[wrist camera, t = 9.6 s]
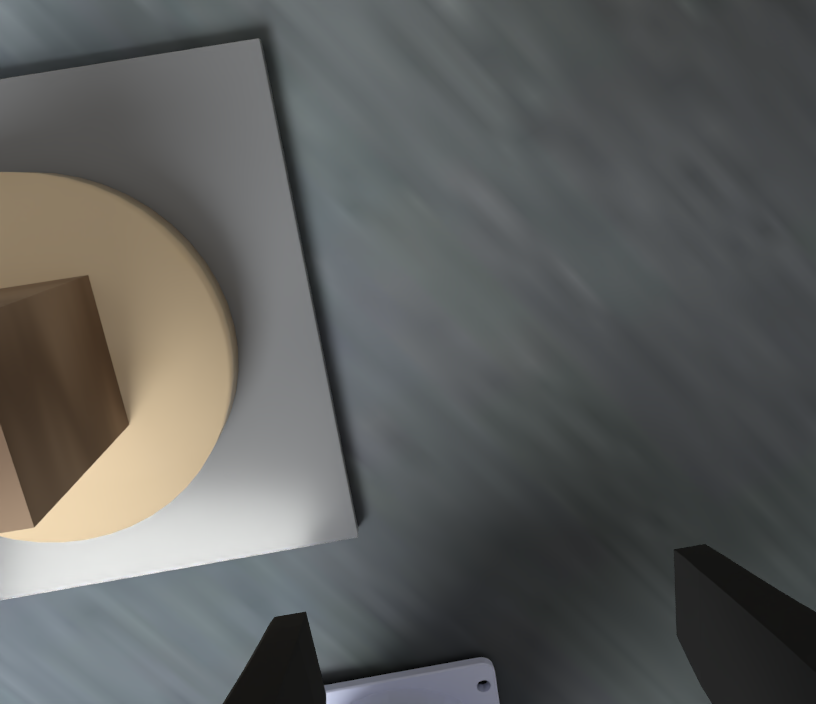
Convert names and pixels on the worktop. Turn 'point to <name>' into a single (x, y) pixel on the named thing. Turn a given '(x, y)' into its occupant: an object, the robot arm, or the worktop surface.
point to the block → (52, 396)
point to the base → (264, 270)
